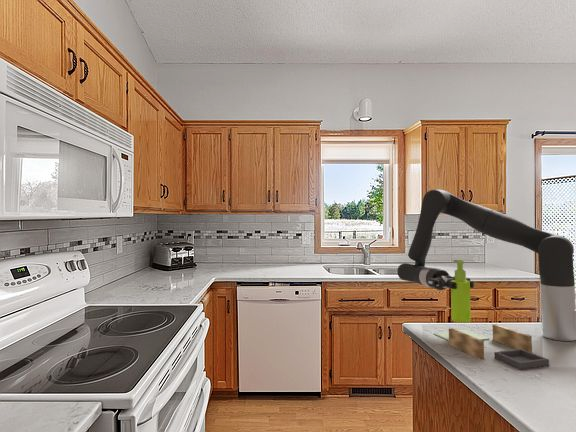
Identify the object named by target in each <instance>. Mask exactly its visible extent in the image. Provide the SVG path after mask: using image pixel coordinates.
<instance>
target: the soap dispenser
mask: <svg viewBox="0 0 576 432" xmlns="http://www.w3.org/2000/svg"><path fill="white" fill-rule="evenodd" d="M453 263H456V269H455V270H454V276H455V280H451V281H452V282H456V287H457V288H456V289H451V288H450V299H451V300H450V303H451V304H450V309H451V311H450V313H451V314H450V315H451V320H452V322H456V323H463V324H465V323H466V324H467V323H471V321H472V320H471V319H472V316H471V288H470V281H471V280H470V281H467V280H466V278H467V276H466V275H467V272H466V270H465V269H464V265H463V264H465V261H464V260H461V259H454V260H453Z"/></svg>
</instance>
